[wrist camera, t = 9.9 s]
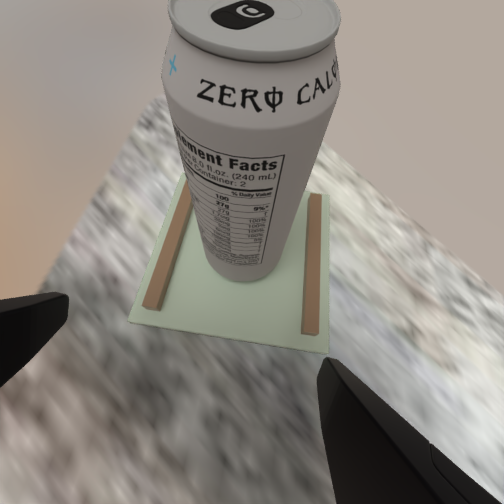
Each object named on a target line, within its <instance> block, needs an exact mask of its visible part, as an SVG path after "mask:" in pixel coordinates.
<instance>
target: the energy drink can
mask: <svg viewBox="0 0 504 504" xmlns="http://www.w3.org/2000/svg"><path fill="white" fill-rule="evenodd" d="M168 13H169V17H170V20H171V23H172V30H171V34H170V37H169V41H168V45H167V49H166V52H165V56H164V60H163V64H162V74H161V78H162V82H163V86H164V90H165V95H166V99H167V103H168V107H169V111H170V115H171V119H172V123H173V127H174V131H175V135H176V139H177V143H178V147H179V151H180V155H181V159H182V163H183V167H184V171H185V175H186V179H187V183H188V187H189V191H190V195H191V199H192V203H193V207H194V211H195V215H196V219H197V223H198V227H199V231H200V236H201V240H202V244H203V248H204V252H205V255H206V258H207V260H208V262H209V264H210V265H211V267H212V268H213V269H214V270H215V271H216V272H217V273H219V274H220V275H222V276H224V277H226V278H228V279H231V280H235V281H253V280H256V279H259V278H261V277H263V276H265V275H267V274H268V273H270V272H271V271H272V270H273V269H274V268H275V266H276V265H277V264H278V262H279V260H280V258H281V255H282V252H283V249H284V246H285V244H286V241H287V238H288V235H289V232H290V230H291V227H292V224H293V221H294V218H295V216H296V213H297V210H298V207H299V204H300V202H301V199H302V196H303V193H304V191H305V188H306V185H307V182H308V179H309V177H310V174H311V171H312V168H313V165H314V163H315V160H316V157H317V154H318V151H319V149H320V146H321V143H322V140H323V137H324V134H325V131H326V129H327V126H328V123H329V121H330V118H331V115H332V112H333V109H334V107H335V104H336V101H337V98H338V95H339V90H340V77H339V69H338V63H337V56H336V49H335V42H334V41H335V40H334V38H335V36H336V35H337V32H338V29H339V26H340V21H341V16H340V10H339V9H338V7H337V5H336V3H335V2H334V1H333V0H168Z"/></svg>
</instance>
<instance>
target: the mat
mask: <svg viewBox="0 0 504 504" xmlns="http://www.w3.org/2000/svg"><path fill="white" fill-rule="evenodd" d="M127 322H129V323H132V324H138V325H145V326H151V327H157V328H163V329H170V330H176V331H182V332H188V333H194V334H201V335H207V336H213V337H219V338H226V339H232V340H238V341H244V342H250V343H257V344H263V345H269V346H275V347H282V348H288V349H294V350H300V351H306V352H313V353H319V354H325V355H327V354H329V195H326V194H320V193H313V192H307V191H304V193H303V196H302V199H301V202H300V204H299V207H298V210H297V213H296V216H295V218H294V221H293V224H292V227H291V230H290V232H289V235H288V238H287V241H286V244H285V246H284V249H283V252H282V255H281V258H280V260H279V262H278V264H277V265H276V266H275V268H274V269H273V270H272V271H271V272H270V273H268V274H267V275H265V276H263V277H261V278H259V279H256V280H253V281H235V280H231V279H228V278H226V277H224V276H222V275H220V274H219V273H217V272H216V271H215V270H214V269H213V268H212V267H211V265H210V264H209V262H208V260H207V258H206V255H205V252H204V248H203V244H202V240H201V236H200V231H199V227H198V223H197V219H196V215H195V211H194V207H193V203H192V199H191V195H190V191H189V187H188V183H187V179H186V175H185V173H182V174H181V176H180V179H179V182H178V185H177V187H176V190H175V193H174V195H173V198H172V201H171V204H170V206H169V209H168V212H167V214H166V217H165V220H164V222H163V225H162V228H161V231H160V233H159V236H158V239H157V241H156V244H155V247H154V250H153V252H152V255H151V258H150V260H149V263H148V266H147V268H146V271H145V274H144V277H143V279H142V282H141V285H140V287H139V290H138V293H137V295H136V298H135V301H134V304H133V306H132V309H131V312H130V314H129V317H128V320H127Z"/></svg>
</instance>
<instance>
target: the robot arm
mask: <svg viewBox="0 0 504 504" xmlns="http://www.w3.org/2000/svg"><path fill="white" fill-rule="evenodd" d="M68 308H69V297H68V295H66V294H63V293H59V292H50V293H43V294H36V295H29V296H23V297H16V298H9V299H3V300H0V388H1V387H2V386H3V385H4V384H5V383H6V382H7V381H8V380H9V379H11V378H12V377H13V376H14V375H15V374H16V373H17V372H18V371H19V370H21V369H22V368H23V367H24V366H25V365H26V364H27V363H28V362H29V361H30V360H31V359H32V358H33V357H34V356H35V355H36V354H37V353H38V352H39V351H40V350H41V348H42V347H43V346H44V345H45V344H46V343H47V342H48V341H49V340H50V339H51V338H52V337H53V336H54V334H55V333H56V332H57V331H58V330H59V329H60V328H61V327H62V326H63V325H64V324H65V322H66V320H67V318H68ZM317 391H318V401H319V411H320V421H321V429H322V434H323V440H324V445H325V450H326V454H327V459H328V464H329V469H330V474H331V479H332V484H333V489H334V494H335V499H336V504H502V503H501V502H499V501H498V500H497V499H496V498H494V497H493V496H492V495H491V494H490V493H489V492H487V491H486V490H485V489H484V488H483V487H481V486H480V485H479V484H478V483H477V482H475V481H474V480H473V479H472V478H471V477H469V476H468V475H467V474H466V473H465V472H463V471H462V470H461V469H460V468H459V467H458V466H457V465H455V464H454V463H453V462H452V461H451V460H450V459H449V458H447V457H446V456H445V455H444V454H443V453H442V452H441V451H440V450H438V449H437V448H436V447H435V446H434V445H433V444H430V443H429V441H428V440H427V439H426V438H425V437H424V436H423V435H422V434H420V433H419V432H418V431H417V430H416V429H415V428H414V427H413V426H411V425H410V424H409V423H408V422H407V421H406V420H405V419H404V418H403V417H401V416H400V415H399V414H398V413H397V412H396V411H395V410H394V409H392V408H391V407H390V406H389V405H388V404H387V403H386V402H385V401H383V400H382V399H381V398H380V397H379V396H378V395H377V394H376V393H375V392H373V391H372V390H371V389H370V388H369V387H368V386H367V385H366V384H364V383H363V382H362V381H361V380H360V379H359V378H358V377H357V376H355V375H354V374H353V373H352V372H351V371H350V370H349V369H348V368H347V367H345V366H344V365H343V364H342V363H341V362H340V361H339V360H337V359H334V358H330V357H326V358H325V359H324V360H323V363H322V365H321V368H320V371H319V373H318V376H317Z"/></svg>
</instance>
